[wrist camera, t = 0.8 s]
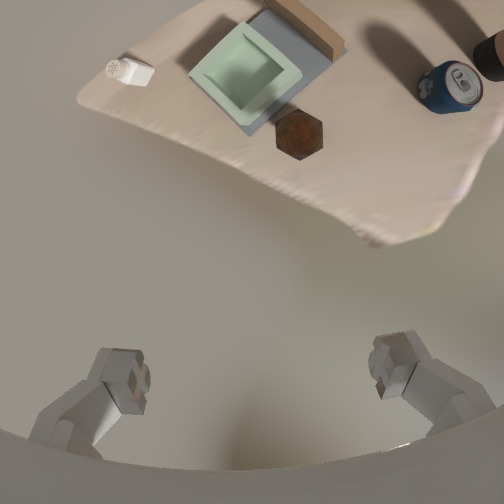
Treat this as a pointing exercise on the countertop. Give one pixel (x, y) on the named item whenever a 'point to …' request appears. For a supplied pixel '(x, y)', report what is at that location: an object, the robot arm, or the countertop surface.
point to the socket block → (245, 73)
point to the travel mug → (491, 57)
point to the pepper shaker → (130, 71)
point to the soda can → (450, 88)
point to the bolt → (299, 134)
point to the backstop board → (294, 48)
